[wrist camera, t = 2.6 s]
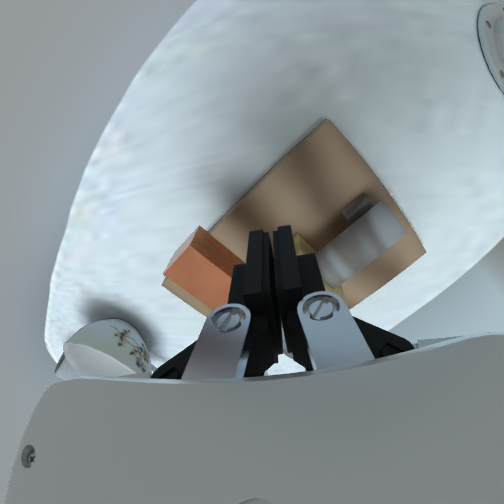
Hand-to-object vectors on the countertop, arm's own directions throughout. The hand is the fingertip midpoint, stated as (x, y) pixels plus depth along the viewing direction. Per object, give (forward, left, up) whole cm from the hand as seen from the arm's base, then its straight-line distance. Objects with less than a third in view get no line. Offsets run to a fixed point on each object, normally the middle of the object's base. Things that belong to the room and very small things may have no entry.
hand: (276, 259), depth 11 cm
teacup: (+30, +2, -13) cm, 32 cm away
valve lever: (+5, +3, -4) cm, 7 cm away
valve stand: (+5, +8, -13) cm, 15 cm away
